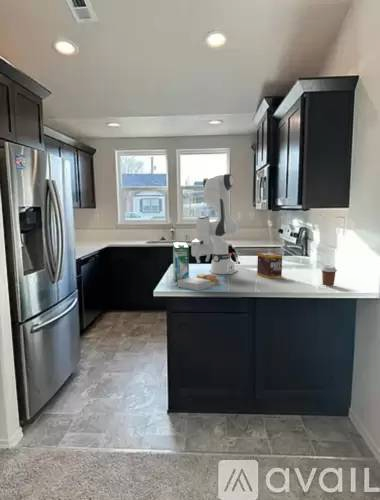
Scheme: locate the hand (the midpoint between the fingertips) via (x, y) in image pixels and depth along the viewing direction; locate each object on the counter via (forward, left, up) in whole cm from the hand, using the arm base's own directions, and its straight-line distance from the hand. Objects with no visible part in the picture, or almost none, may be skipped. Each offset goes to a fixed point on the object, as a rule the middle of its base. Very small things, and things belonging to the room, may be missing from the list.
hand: (203, 262), depth 229 cm
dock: (+14, +4, -13) cm, 20 cm away
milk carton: (+4, -15, -13) cm, 21 cm away
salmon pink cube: (-1, +7, -12) cm, 13 cm away
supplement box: (-44, +26, -13) cm, 52 cm away
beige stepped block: (0, +3, -14) cm, 14 cm away
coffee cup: (-40, +68, -13) cm, 80 cm away
